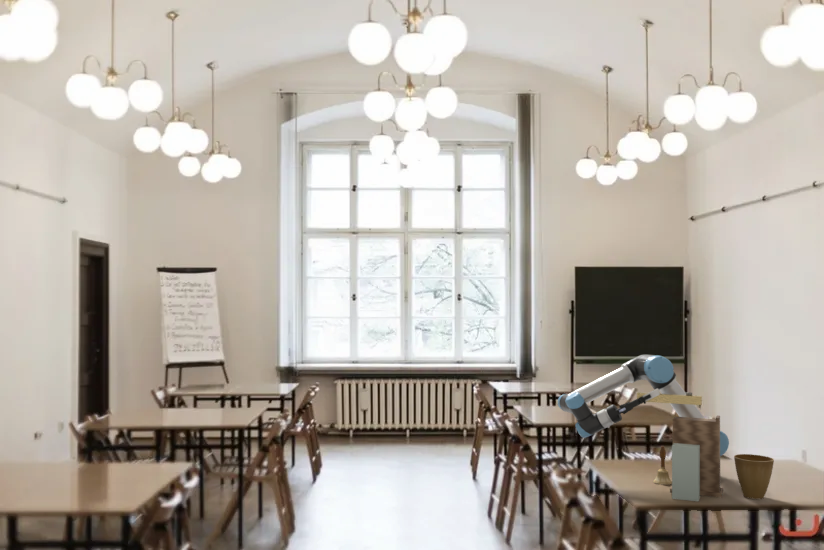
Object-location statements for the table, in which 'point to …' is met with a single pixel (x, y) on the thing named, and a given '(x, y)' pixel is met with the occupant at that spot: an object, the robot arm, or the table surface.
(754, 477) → the plant pot
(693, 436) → the walnut stand
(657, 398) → the brass bar
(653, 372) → the robot arm
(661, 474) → the hand bell
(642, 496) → the table surface
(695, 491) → the grey block
